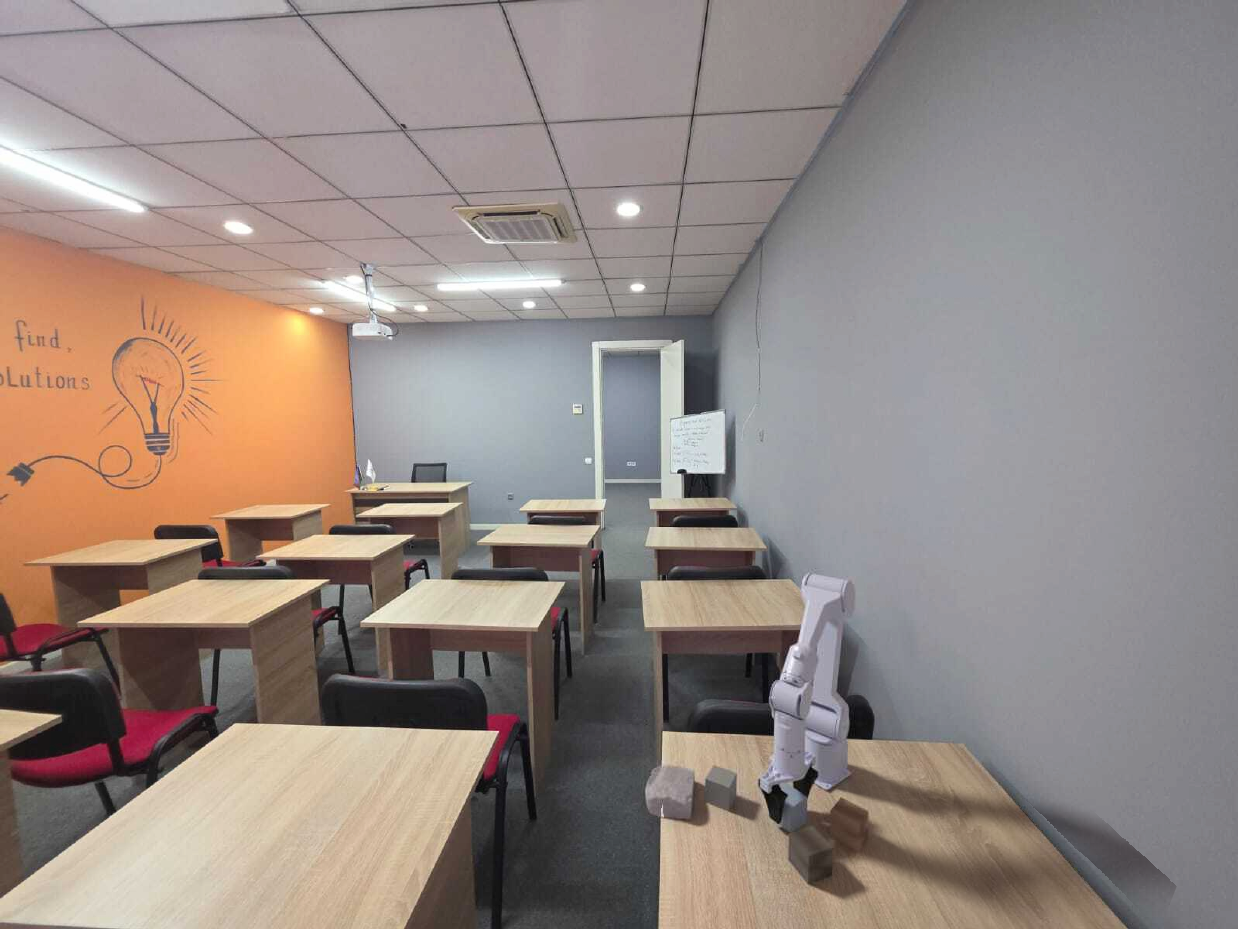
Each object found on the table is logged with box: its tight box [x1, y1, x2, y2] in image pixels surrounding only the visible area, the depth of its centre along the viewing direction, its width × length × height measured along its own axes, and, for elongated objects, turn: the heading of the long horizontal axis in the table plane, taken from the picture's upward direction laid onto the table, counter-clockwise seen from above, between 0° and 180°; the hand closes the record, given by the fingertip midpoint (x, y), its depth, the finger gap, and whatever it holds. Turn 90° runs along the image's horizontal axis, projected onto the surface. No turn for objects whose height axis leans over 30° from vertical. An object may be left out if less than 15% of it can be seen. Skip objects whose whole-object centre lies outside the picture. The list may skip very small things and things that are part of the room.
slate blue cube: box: [768, 782, 808, 833], centre depth 95 cm, size 5×5×5 cm
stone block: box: [644, 764, 695, 821], centre depth 100 cm, size 12×5×10 cm
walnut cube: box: [829, 796, 870, 853], centre depth 90 cm, size 5×5×5 cm
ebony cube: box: [787, 825, 834, 885], centre depth 84 cm, size 5×5×5 cm
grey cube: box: [704, 764, 738, 812], centre depth 100 cm, size 5×5×5 cm
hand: (787, 811), depth 95 cm, fingers open, 7 cm apart
